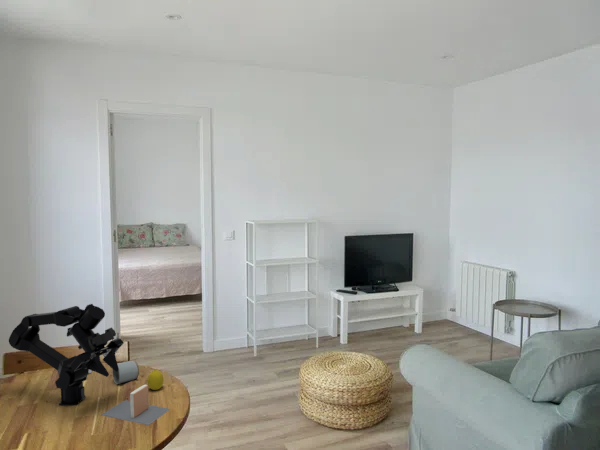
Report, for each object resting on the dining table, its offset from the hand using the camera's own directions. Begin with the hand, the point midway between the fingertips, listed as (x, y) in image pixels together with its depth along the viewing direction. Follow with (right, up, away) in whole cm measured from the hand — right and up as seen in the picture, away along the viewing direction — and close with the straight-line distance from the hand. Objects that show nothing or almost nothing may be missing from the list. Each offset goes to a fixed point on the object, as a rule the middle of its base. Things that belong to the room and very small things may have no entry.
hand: (113, 373), depth 149 cm
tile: (+10, -12, -3) cm, 16 cm away
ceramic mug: (-6, -11, +25) cm, 28 cm away
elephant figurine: (-24, -11, +33) cm, 42 cm away
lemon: (+9, -12, +15) cm, 21 cm away
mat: (+9, -13, -2) cm, 16 cm away
